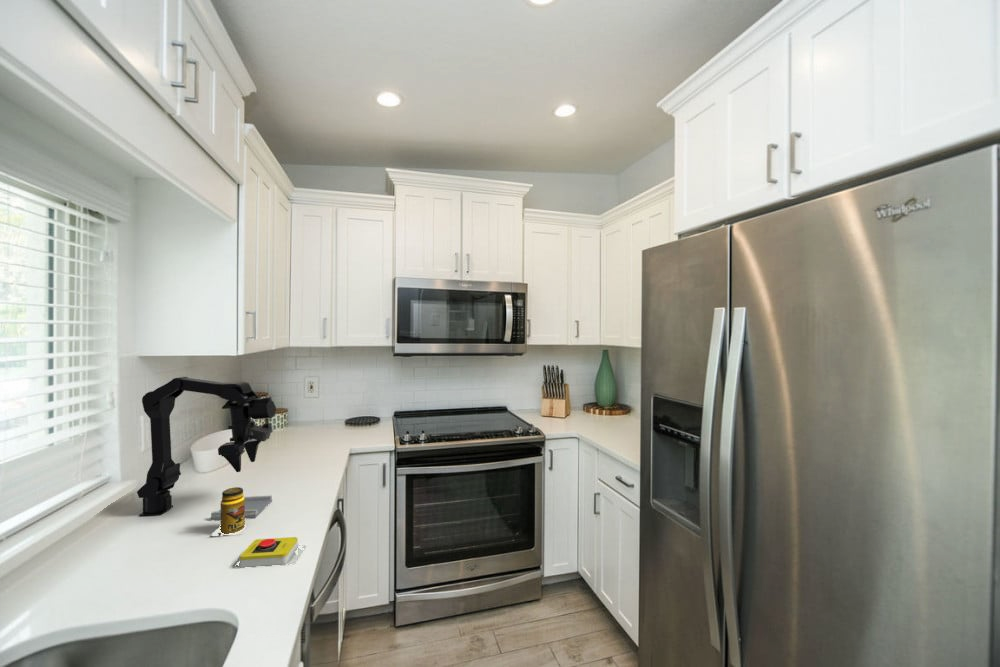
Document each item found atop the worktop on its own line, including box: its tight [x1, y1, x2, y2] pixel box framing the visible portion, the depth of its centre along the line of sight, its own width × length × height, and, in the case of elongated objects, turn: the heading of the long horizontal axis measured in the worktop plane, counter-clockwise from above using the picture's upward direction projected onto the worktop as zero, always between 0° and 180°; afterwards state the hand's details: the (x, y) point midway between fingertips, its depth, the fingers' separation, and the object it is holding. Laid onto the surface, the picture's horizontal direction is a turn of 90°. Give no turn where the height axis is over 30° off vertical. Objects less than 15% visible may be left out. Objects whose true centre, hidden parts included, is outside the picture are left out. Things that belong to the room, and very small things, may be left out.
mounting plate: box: [210, 498, 273, 521], centre depth 136 cm, size 13×13×1 cm
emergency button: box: [232, 536, 307, 569], centre depth 108 cm, size 9×4×15 cm
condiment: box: [219, 486, 246, 534], centre depth 122 cm, size 7×8×12 cm
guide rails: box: [210, 494, 273, 518], centre depth 136 cm, size 13×12×1 cm
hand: (246, 466), depth 137 cm, fingers open, 9 cm apart
